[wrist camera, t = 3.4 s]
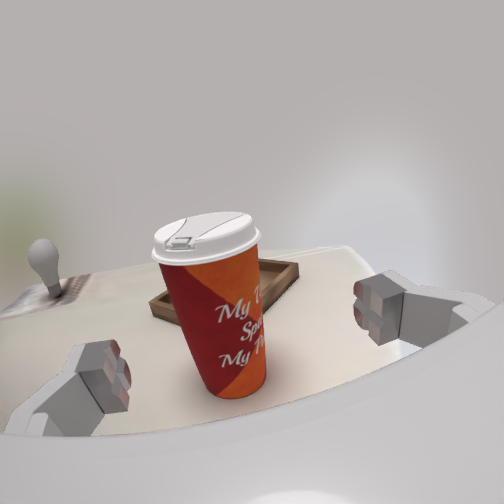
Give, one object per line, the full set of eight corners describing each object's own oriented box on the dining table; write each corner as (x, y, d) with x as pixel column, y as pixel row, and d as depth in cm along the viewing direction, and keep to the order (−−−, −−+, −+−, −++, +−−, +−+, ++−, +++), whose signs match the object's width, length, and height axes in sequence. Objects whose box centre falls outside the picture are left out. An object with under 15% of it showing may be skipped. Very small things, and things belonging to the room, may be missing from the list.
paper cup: (264, 415, 21) (234, 242, 16) (178, 398, 23) (125, 246, 18) (287, 352, 28) (271, 206, 23) (213, 345, 30) (183, 212, 25)
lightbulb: (44, 295, 47) (25, 242, 43) (70, 285, 50) (53, 231, 46) (43, 307, 42) (21, 248, 38) (72, 296, 45) (52, 237, 42)
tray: (233, 343, 30) (230, 326, 29) (153, 315, 37) (148, 301, 36) (299, 276, 42) (298, 262, 42) (225, 266, 49) (223, 254, 49)
